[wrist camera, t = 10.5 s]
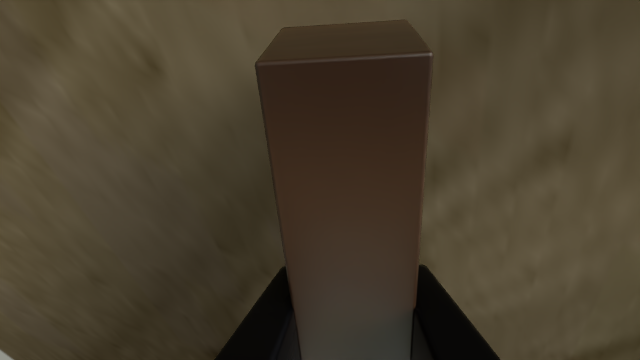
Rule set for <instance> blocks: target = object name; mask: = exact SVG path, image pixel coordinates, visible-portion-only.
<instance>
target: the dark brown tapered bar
mask: <svg viewBox="0 0 640 360" xmlns="http://www.w3.org/2000/svg"><path fill="white" fill-rule="evenodd" d="M255 69H256V76H257V82H258V89H259V95H260V102H261V108H262V115H263V122H264V128H265V135H266V141H267V148H268V154H269V161H270V167H271V174H272V180H273V187H274V193H275V200H276V206H277V213H278V219H279V226H280V232H281V239H282V245H283V252H284V258H285V265H286V271H287V278H288V285H289V291H290V298H291V304H292V308H293V309H294V315H295V322H296V329H297V336H298V343H299V350H300V356H301V360H411V352H412V337H413V322H414V309H415V306H416V296H417V282H418V268H419V254H420V239H421V225H422V211H423V197H424V183H425V169H426V154H427V140H428V126H429V112H430V98H431V84H432V69H433V53H432V51H431V50H430V48H429V47H428V46H427V45H426V43H425V42H424V41H423V39H422V38H421V37H420V36H419V34H418V33H417V32H416V31H415V29H414V28H413V27H412V25H411V24H410V23H409V22H408V21H407V20H393V21H377V22H362V23H347V24H332V25H317V26H302V27H286V28H282V29H281V30H280V32H279V33H278V34H277V36H276V37H275V38H274V39H273V41H272V42H271V43H270V45H269V46H268V47H267V48H266V50H265V51H264V52H263V54H262V55H261V56H260V58H259V59H258V60H257V61H256V64H255Z"/></svg>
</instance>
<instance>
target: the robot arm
mask: <svg viewBox="0 0 640 360" xmlns="http://www.w3.org/2000/svg"><path fill="white" fill-rule="evenodd" d="M214 360H301V356H300V350H299V343H298V336H297V329H296V322H295V315H294V309H293V308H292V304H291V298H290V291H289V285H288V278H287V271H286V266H284V267H282V268H281V269H280V270H279V272H278V273H277V274H276V276H275V277H274V279H273V280H272V281H271V283H270V284H269V285H268V287H267V288H266V290H265V291H264V292H263V294H262V295H261V296H260V298H259V299H258V300H257V302H256V303H255V305H254V306H253V307H252V309H251V310H250V311H249V313H248V314H247V316H246V317H245V318H244V320H243V321H242V322H241V324H240V325H239V326H238V328H237V329H236V331H235V332H234V333H233V335H232V336H231V337H230V339H229V340H228V342H227V343H226V344H225V346H224V347H223V348H222V350H221V351H220V352H219V354H218V355H217V357H216V358H215V359H214ZM411 360H500V358H499V357H498V356H497V355H496V353H495V352H494V351H493V349H492V348H491V347H490V346H489V344H488V343H487V342H486V341H485V339H484V338H483V337H482V336H481V334H480V333H479V332H478V331H477V329H476V328H475V327H474V326H473V324H472V323H471V322H470V321H469V319H468V318H467V317H466V316H465V314H464V313H463V312H462V311H461V309H460V308H459V307H458V305H457V304H456V303H455V302H454V300H453V299H452V298H451V297H450V295H449V294H448V293H447V292H446V290H445V289H444V288H443V287H442V285H441V284H440V283H439V282H438V280H437V279H436V278H435V277H434V275H433V274H432V273H431V272H430V270H429V269H428V268H427V267H426V266H425V265H419V268H418V282H417V296H416V306H415V309H414V322H413V337H412V352H411Z"/></svg>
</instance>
